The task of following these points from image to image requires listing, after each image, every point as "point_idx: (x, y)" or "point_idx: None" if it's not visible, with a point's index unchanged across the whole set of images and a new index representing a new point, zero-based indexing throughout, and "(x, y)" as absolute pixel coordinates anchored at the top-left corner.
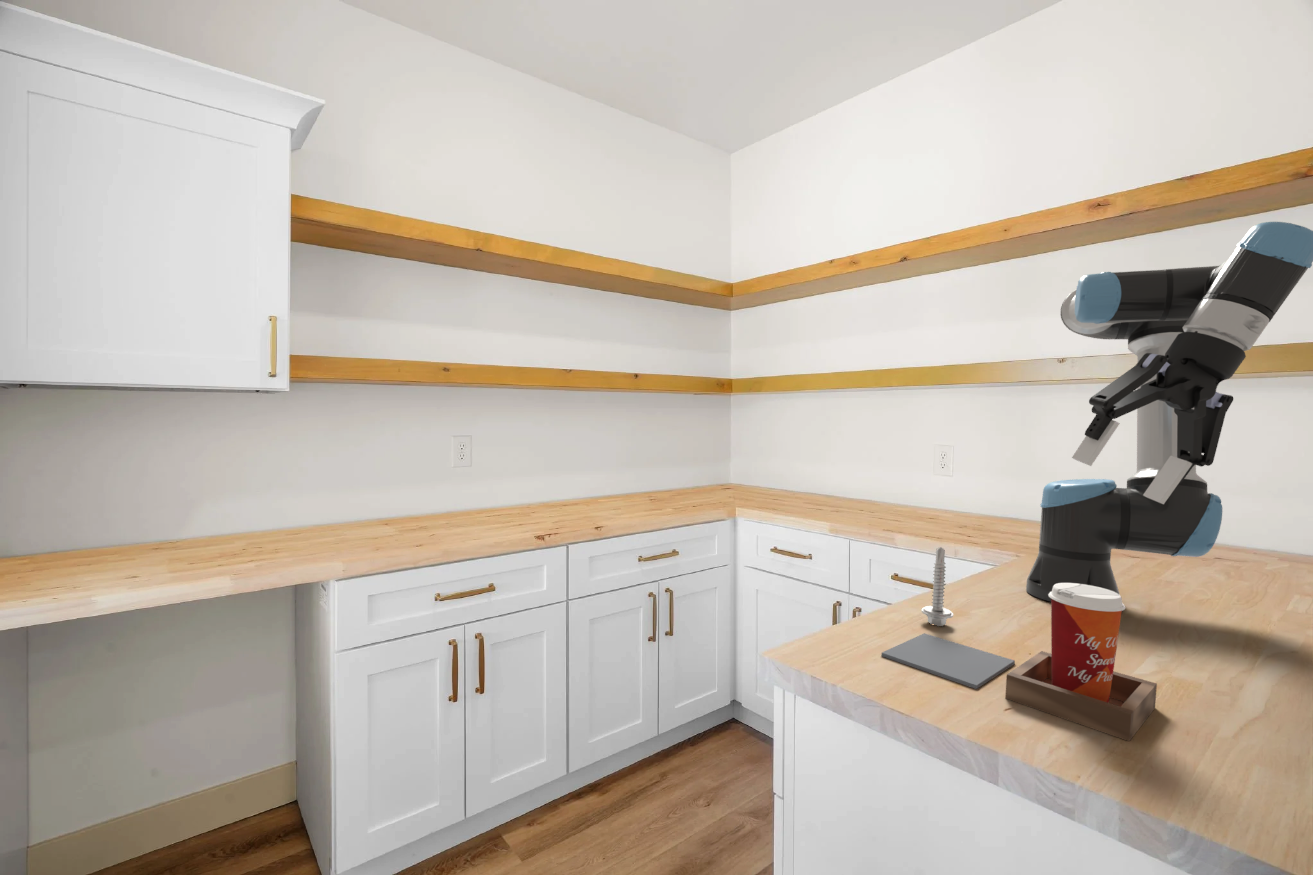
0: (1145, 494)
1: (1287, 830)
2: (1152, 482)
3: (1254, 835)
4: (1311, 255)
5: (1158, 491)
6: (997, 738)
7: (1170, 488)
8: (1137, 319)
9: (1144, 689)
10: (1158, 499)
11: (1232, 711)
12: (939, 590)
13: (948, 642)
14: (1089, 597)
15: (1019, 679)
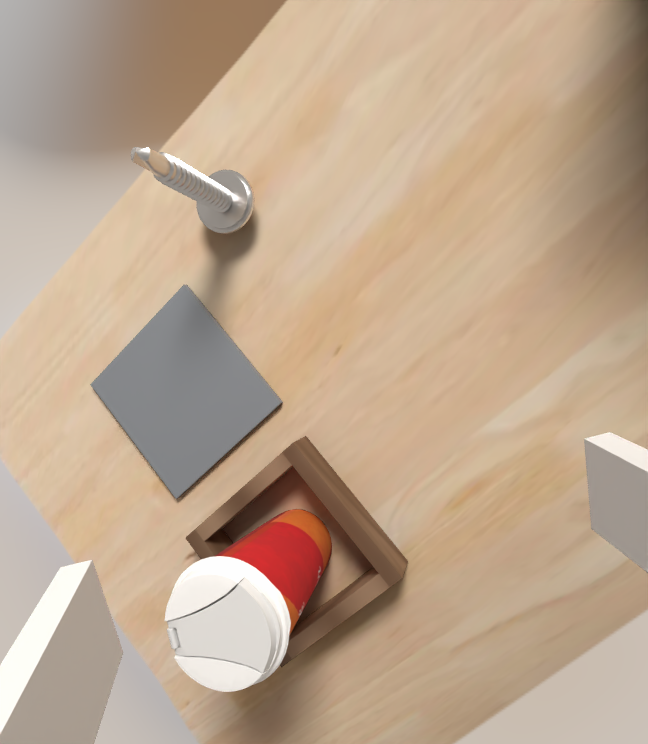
0: (589, 451)
1: None
2: (643, 474)
3: None
4: None
5: (621, 517)
6: (145, 623)
7: None
8: None
9: (362, 597)
10: (598, 520)
11: (536, 577)
12: (197, 197)
13: (206, 328)
14: (192, 677)
15: (196, 551)
